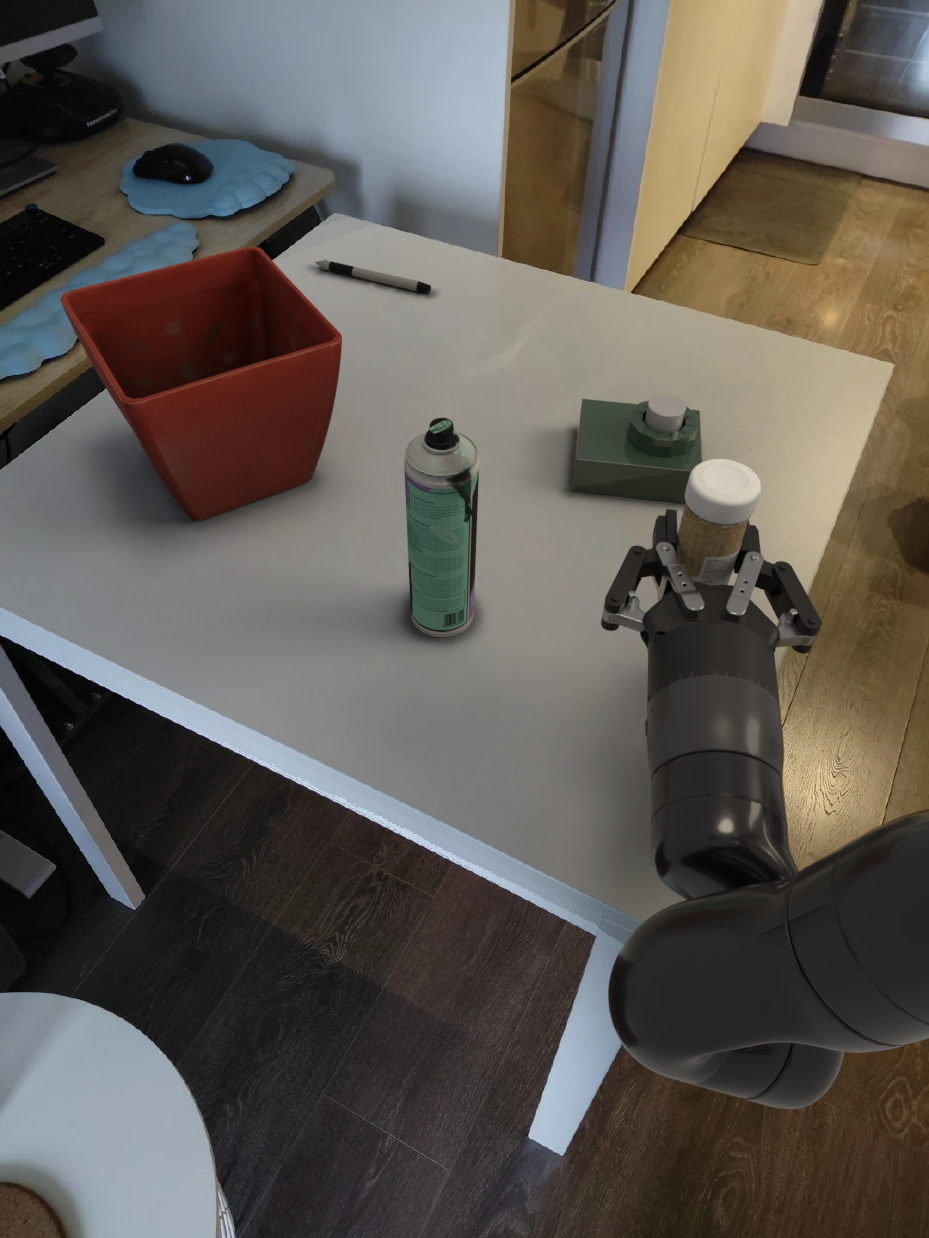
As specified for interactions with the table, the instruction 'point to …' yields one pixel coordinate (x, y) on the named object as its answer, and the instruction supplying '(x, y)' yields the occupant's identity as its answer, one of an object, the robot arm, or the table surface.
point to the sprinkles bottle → (716, 518)
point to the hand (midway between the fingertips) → (703, 522)
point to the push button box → (633, 452)
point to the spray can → (441, 528)
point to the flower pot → (215, 374)
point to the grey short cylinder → (665, 413)
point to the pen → (375, 276)
